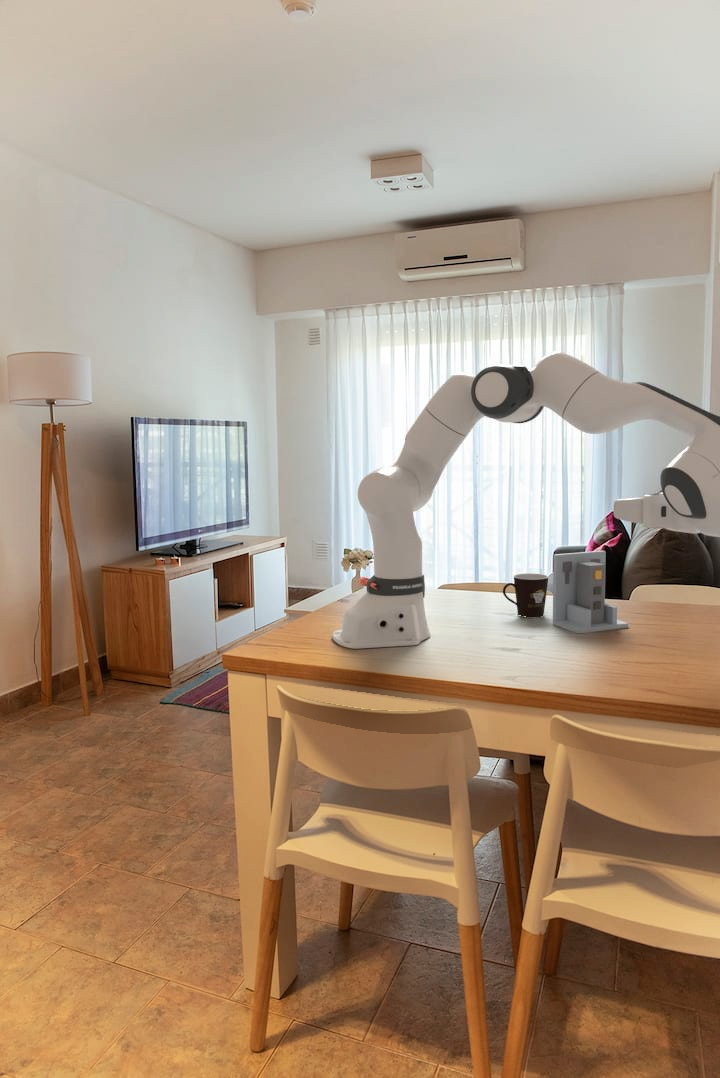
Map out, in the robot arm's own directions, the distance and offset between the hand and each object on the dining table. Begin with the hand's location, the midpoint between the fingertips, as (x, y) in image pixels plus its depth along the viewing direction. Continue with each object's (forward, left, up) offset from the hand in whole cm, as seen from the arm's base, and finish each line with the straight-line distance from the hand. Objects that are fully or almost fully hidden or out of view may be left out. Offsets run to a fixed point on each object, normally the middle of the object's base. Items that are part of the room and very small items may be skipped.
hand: (636, 504), depth 159 cm
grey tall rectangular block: (0, +15, -29) cm, 33 cm away
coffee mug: (-8, +31, -30) cm, 44 cm away
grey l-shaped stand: (0, +15, -30) cm, 33 cm away
